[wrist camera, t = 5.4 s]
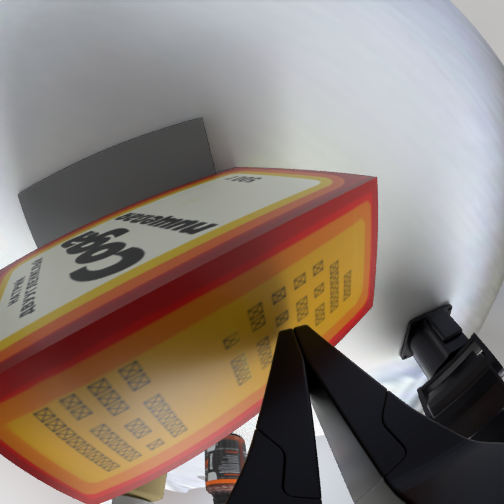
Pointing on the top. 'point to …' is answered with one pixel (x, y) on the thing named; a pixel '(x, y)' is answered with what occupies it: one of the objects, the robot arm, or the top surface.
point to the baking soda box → (173, 320)
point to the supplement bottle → (224, 466)
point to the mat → (116, 179)
